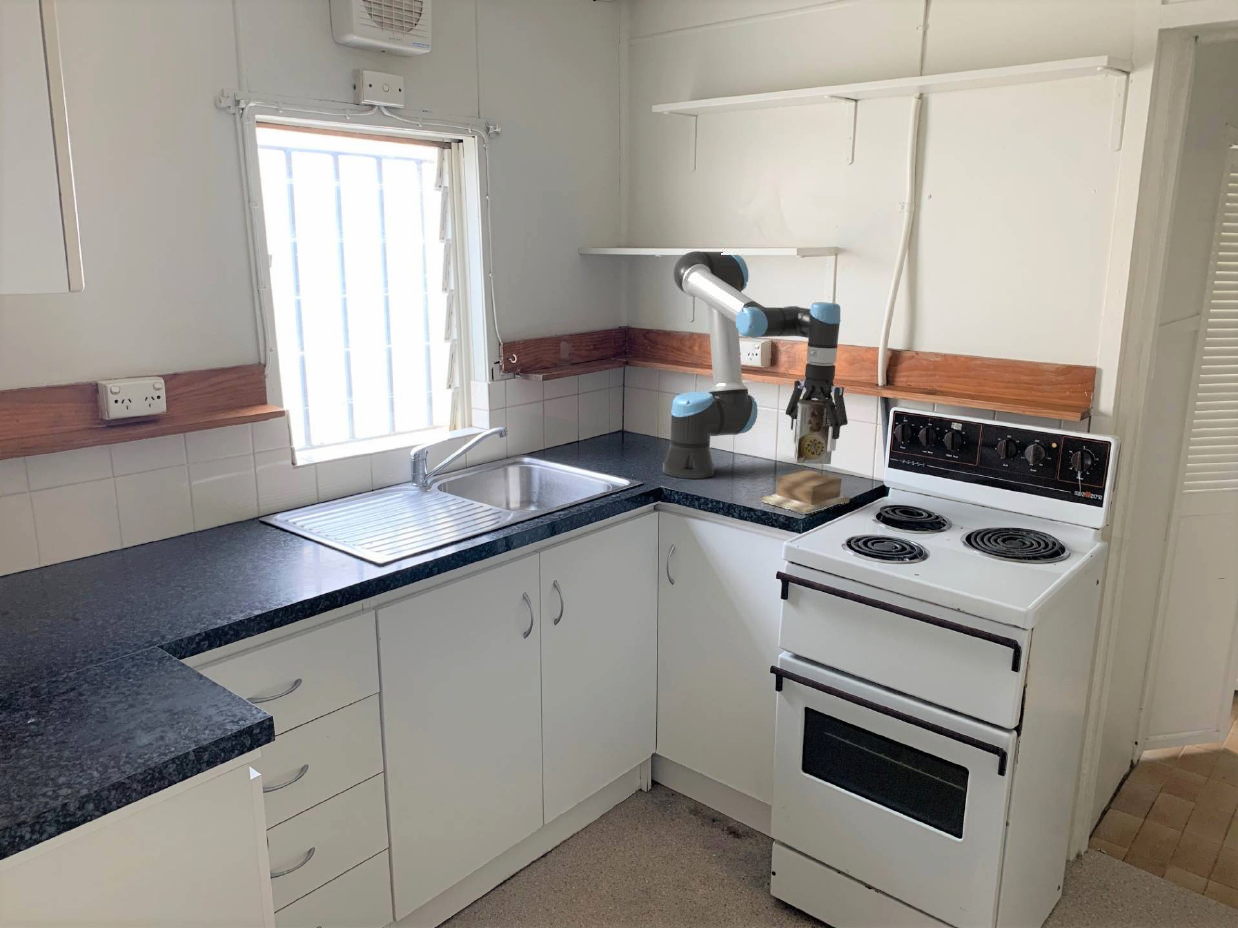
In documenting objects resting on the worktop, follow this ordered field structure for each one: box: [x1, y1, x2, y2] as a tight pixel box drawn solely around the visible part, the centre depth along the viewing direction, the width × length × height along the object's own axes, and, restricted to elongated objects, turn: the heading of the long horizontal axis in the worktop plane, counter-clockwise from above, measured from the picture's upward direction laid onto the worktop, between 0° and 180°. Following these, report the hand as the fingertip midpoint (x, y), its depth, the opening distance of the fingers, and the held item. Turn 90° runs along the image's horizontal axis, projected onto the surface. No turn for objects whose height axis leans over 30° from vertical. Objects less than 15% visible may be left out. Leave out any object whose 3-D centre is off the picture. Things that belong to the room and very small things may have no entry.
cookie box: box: [793, 398, 836, 465], centre depth 241 cm, size 9×6×16 cm
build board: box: [761, 492, 851, 513], centre depth 245 cm, size 14×20×2 cm
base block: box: [776, 469, 842, 505], centre depth 245 cm, size 11×13×5 cm
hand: (813, 446), depth 242 cm, fingers closed on cookie box, 10 cm apart
